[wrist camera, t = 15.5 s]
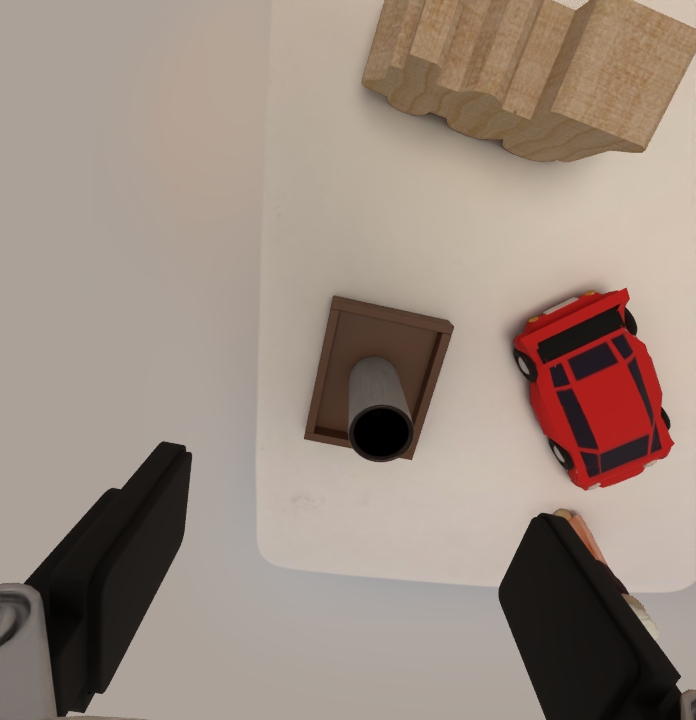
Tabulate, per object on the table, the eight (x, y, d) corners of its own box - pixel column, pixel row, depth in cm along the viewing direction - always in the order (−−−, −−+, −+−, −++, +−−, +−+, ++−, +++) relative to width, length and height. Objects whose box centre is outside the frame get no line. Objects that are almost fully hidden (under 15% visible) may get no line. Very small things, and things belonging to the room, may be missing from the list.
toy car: (571, 490, 41) (599, 524, 36) (488, 333, 36) (508, 350, 31) (671, 444, 39) (714, 474, 34) (599, 271, 34) (639, 278, 29)
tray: (333, 295, 35) (332, 299, 33) (448, 320, 35) (454, 326, 33) (306, 428, 39) (303, 439, 37) (408, 448, 40) (411, 460, 38)
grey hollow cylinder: (356, 405, 37) (357, 469, 28) (343, 362, 36) (340, 413, 26) (402, 394, 37) (420, 455, 27) (391, 350, 35) (406, 397, 26)
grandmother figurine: (601, 525, 42) (699, 643, 30) (577, 548, 44) (662, 671, 32) (547, 493, 41) (628, 603, 29) (523, 518, 42) (591, 634, 30)
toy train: (385, 9, 28) (402, -102, 18) (597, 95, 29) (714, 33, 20) (360, 96, 30) (364, 35, 20) (562, 172, 31) (654, 149, 22)
